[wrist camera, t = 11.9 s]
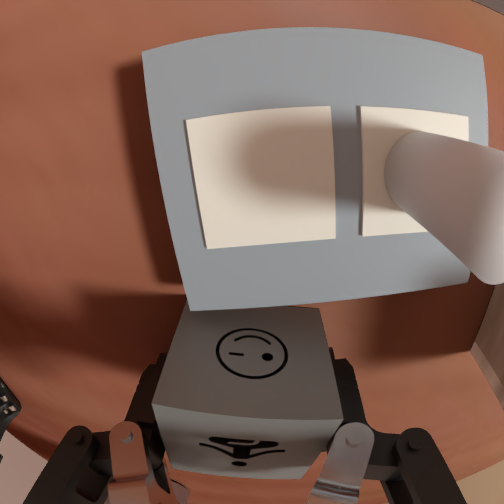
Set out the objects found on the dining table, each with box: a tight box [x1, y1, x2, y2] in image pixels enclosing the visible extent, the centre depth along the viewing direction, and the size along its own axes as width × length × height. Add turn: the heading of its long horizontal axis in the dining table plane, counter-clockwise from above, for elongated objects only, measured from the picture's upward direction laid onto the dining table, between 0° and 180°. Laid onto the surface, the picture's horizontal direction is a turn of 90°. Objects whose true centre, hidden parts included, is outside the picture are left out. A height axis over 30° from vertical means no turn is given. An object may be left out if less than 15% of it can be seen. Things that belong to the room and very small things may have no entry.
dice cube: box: [152, 300, 344, 479], centre depth 10 cm, size 5×5×5 cm
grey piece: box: [142, 27, 504, 311], centre depth 6 cm, size 10×8×6 cm
